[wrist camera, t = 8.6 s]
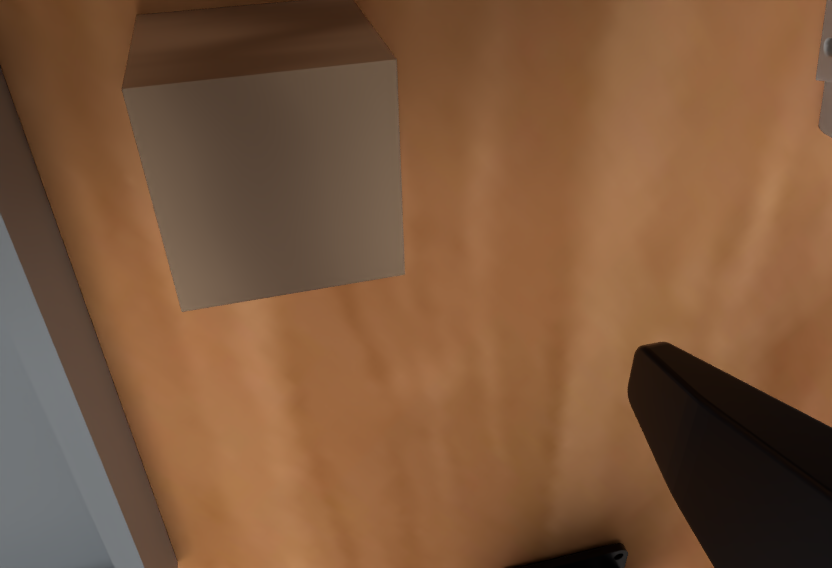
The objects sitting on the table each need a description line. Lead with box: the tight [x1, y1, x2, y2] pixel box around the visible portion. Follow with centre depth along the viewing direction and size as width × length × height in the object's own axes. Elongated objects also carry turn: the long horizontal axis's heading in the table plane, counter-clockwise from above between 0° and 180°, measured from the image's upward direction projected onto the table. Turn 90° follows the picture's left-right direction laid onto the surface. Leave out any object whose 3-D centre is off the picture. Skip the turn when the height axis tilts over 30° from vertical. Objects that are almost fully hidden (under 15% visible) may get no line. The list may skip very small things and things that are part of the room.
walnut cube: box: [122, 0, 405, 312], centre depth 17 cm, size 5×5×5 cm
